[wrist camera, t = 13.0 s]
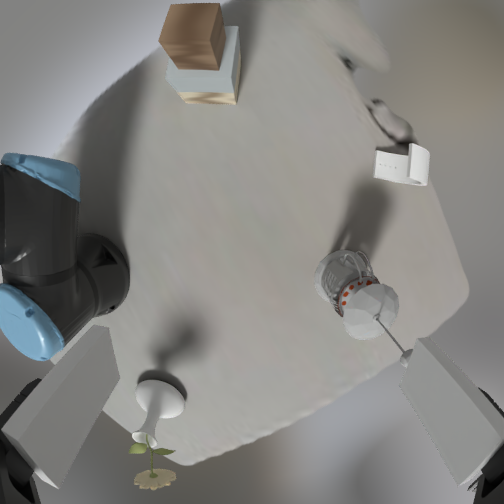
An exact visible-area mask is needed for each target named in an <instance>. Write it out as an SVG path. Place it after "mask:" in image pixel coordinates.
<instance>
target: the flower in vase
mask: <svg viewBox="0 0 504 504" xmlns="http://www.w3.org/2000/svg"><path fill="white" fill-rule="evenodd" d="M135 395H136V399H137V401H138V403H139V404H140V406H141V407H142V408H143V409H144V410H145V411H146V412H147V413H148V415H147V418H146V421H145V423H144V424H143V426H142V427H141V428H140V429H139V430H138V431H135V432H133V433H132V437H133V438H134V440H135V441H137V442H138V443H134V444H133V445H132V447H131V448H130V450H129V453H144V452H145V451H146V449H147V447H149V449H150V451H151V471H150V470H146V471H144V472H142V473H140V474H137V475H136V476H137V477H135V478H134V479H135V480H134V482H135V483H134V484H135V485H138V484H141V485H140V487H139V488H144V489H148V488H151V489H152V490H156V489H157V487H158V488H162V487H163V486H165V485H167V486H168V485H171V483H170V481H174V480H176V477H175V474H176V473H175V472H172V471H171V470H170V471H169V470H168V471H167V469H163V470H162V469H157V470H156V469H153V463H152V462H153V454H152V453H153V452H154V453H157V454H159V455H168V454H171V453H173V452H174V451H173V450H168V449H164V448H159V449H156V450H153V452H152V449H151V447H155V446H156V445H157V440H156V438H155V427H156V423H157V421H158V419H159V418H172V417H176V416H178V415H179V414H181V413H182V412H183V410H184V409H185V401H184V398H183V396H182V395H181V393H180V392H179V391H178V390H177V389H176V388H174V387H173V386H171V385H170V384H168V383H165V382H163V381H159V380H146V381H142V382H140V383H139V384H138V385H137V387H136V389H135Z"/></svg>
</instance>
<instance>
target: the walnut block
mask: <svg viewBox="0 0 504 504" xmlns="http://www.w3.org/2000/svg"><path fill="white" fill-rule="evenodd" d="M225 42H226V34H225V28H224V23H223V18H222V13H221V8H220V3H192V4H175V5H174V4H173V5H171V6H170V9H169V11H168V14H167V17H166V20H165V23H164V25H163V29H162V32H161V35H160V38H159V43H160V44H161V45H162V47H163V48H164V50H165V51H166V53H167V54H168V55H169V57H170V58H171V60H172V61H173V63H174V64H175V65H176V67H177V68H178V70H213V71H219V69H220V64H221V60H222V55H223V51H224V46H225Z"/></svg>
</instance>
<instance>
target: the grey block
mask: <svg viewBox="0 0 504 504" xmlns="http://www.w3.org/2000/svg"><path fill="white" fill-rule="evenodd" d="M224 28H225V34H226V42H225V46H224V51H223V55H222V60H221V64H220V69H219V71H213V70H178V68H177V67H176V65H175V64H174V63H173V61H172V60H171V58H170V57H169V60H168V66H167V71H166V76H165V79H166V80H167V81H168V82H169V84H170V85H171V86H172V87H173V88H174V89H175V90H176V91H177V93H178V92H219V93H234V91H235V83H236V74H237V66H238V59H239V51H240V39H239V29H238V26H224Z"/></svg>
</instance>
